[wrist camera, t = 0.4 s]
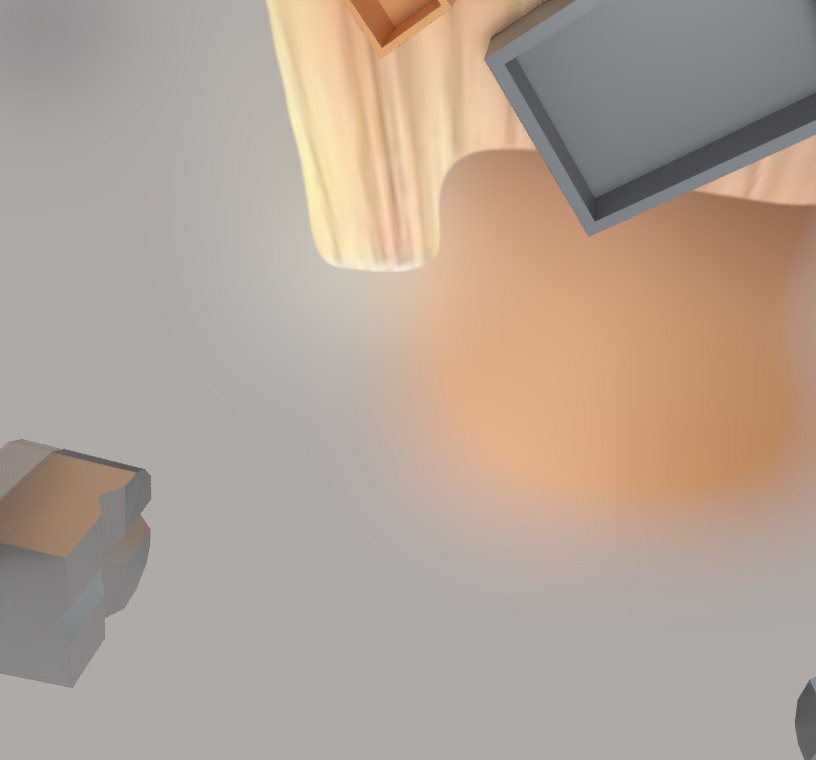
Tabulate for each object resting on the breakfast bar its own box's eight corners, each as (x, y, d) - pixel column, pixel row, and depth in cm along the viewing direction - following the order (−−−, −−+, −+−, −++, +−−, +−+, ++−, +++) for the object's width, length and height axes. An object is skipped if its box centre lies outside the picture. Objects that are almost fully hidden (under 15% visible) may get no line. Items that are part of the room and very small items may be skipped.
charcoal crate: (785, -157, 41) (801, -146, 37) (857, 81, 48) (875, 107, 45) (491, 37, 51) (484, 59, 48) (589, 208, 59) (588, 236, 55)
